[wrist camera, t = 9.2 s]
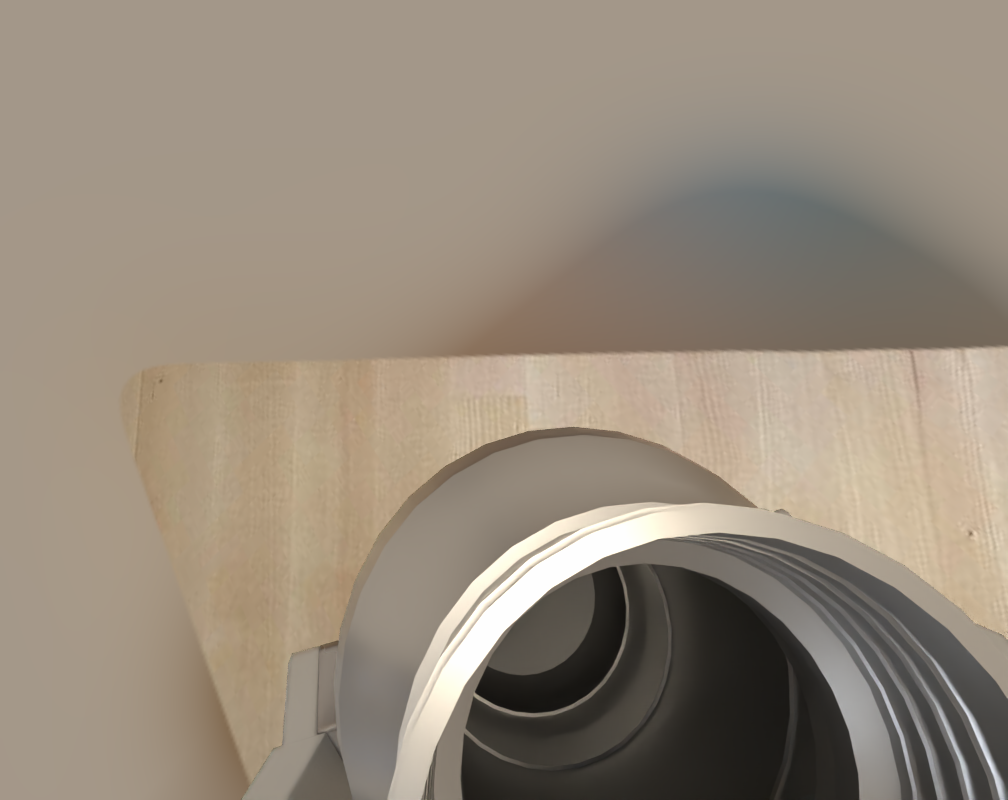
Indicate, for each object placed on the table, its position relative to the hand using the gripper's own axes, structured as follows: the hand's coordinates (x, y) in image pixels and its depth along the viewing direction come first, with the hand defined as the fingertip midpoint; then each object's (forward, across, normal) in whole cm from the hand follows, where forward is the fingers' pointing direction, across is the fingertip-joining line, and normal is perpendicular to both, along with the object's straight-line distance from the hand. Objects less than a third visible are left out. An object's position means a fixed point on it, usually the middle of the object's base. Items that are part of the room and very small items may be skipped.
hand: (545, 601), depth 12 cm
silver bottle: (+8, 0, +9) cm, 12 cm away
